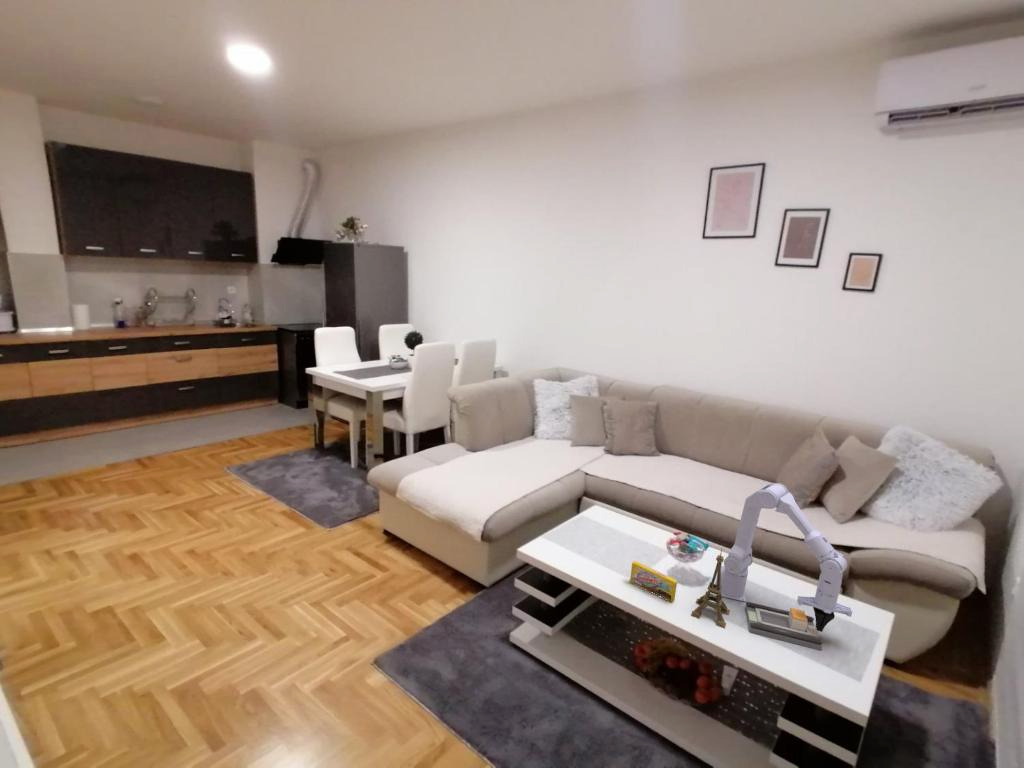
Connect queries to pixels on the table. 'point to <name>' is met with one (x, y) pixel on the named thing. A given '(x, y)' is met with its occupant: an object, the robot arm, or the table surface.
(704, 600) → the eiffel tower
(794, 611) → the orange-faced white block
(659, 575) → the candy box
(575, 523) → the table surface
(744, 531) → the robot arm
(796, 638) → the panel
